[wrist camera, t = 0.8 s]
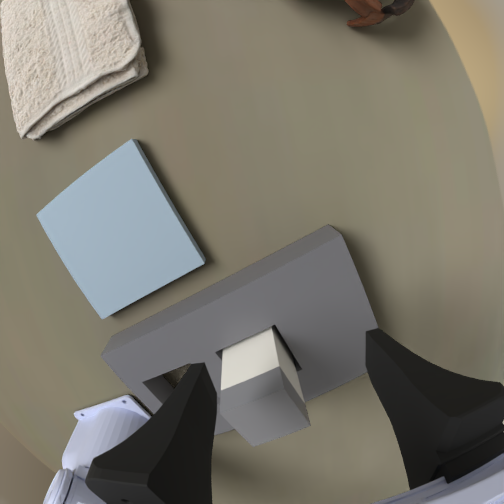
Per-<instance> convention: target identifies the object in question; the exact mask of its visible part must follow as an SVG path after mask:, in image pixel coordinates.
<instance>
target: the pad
mask: <svg viewBox="0 0 504 504" xmlns="http://www.w3.org/2000/svg"><path fill="white" fill-rule="evenodd" d="M37 217H38V219H39V221H40V223H41V224H42V226H43V228H44V230H45V232H46V233H47V235H48V237H49V239H50V241H51V242H52V244H53V246H54V247H55V249H56V251H57V253H58V254H59V256H60V258H61V259H62V261H63V262H64V264H65V266H66V267H67V269H68V270H69V272H70V274H71V275H72V277H73V278H74V280H75V281H76V283H77V284H78V286H79V287H80V289H81V290H82V292H83V293H84V295H85V296H86V298H87V299H88V300H89V302H90V303H91V305H92V306H93V308H94V309H95V310H96V312H97V313H98V315H99V316H100V317H101V319H104V318H106V317H107V316H109V315H111V314H113V313H115V312H116V311H118V310H120V309H122V308H124V307H125V306H127V305H129V304H131V303H133V302H135V301H136V300H138V299H140V298H142V297H144V296H146V295H147V294H149V293H151V292H153V291H155V290H157V289H158V288H160V287H162V286H164V285H166V284H168V283H169V282H171V281H173V280H175V279H177V278H179V277H181V276H182V275H184V274H186V273H188V272H190V271H192V270H193V269H195V268H197V267H199V266H201V265H203V264H205V260H206V258H205V257H204V255H203V253H202V252H201V250H200V248H199V247H198V245H197V243H196V242H195V240H194V238H193V237H192V235H191V233H190V232H189V230H188V228H187V227H186V225H185V223H184V222H183V220H182V218H181V217H180V215H179V213H178V212H177V210H176V208H175V207H174V205H173V203H172V201H171V200H170V198H169V196H168V195H167V193H166V191H165V189H164V188H163V186H162V184H161V182H160V181H159V179H158V177H157V175H156V174H155V172H154V170H153V168H152V167H151V165H150V163H149V161H148V159H147V158H146V156H145V154H144V152H143V151H142V149H141V147H140V145H139V143H138V141H137V140H136V139H131V140H129V141H128V142H127V143H125V144H124V145H122V146H121V147H119V148H118V149H117V150H115V151H114V152H112V153H111V154H110V155H108V156H107V157H106V158H104V159H103V160H101V161H100V162H99V163H97V164H96V165H95V166H94V167H92V168H91V169H90V170H88V171H87V172H86V173H85V174H83V175H82V176H81V177H80V178H78V179H77V180H76V181H75V182H73V183H72V184H71V185H70V186H69V187H67V188H66V189H65V190H64V191H63V192H61V193H60V194H59V195H58V196H57V197H56V198H54V199H53V200H52V201H51V202H50V203H49V204H48V205H47V206H45V207H44V208H43V209H42V210H41V211H40V212H39V213H38V214H37Z"/></svg>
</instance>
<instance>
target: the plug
mask: <svg viewBox="0 0 504 504" xmlns="http://www.w3.org/2000/svg"><path fill="white" fill-rule="evenodd" d="M220 414H221V415H222V416H223V417H224V418H225V419H226V420H227V421H228V422H229V423H230V425H231V426H232V427H233V428H234V429H235V430H236V431H237V432H238V433H239V434H240V435H241V436H242V437H243V438H244V439H245V440H247V441H248V442H249V443H250V444H251V445H252V446H253V447H254V446H257V445H260V444H263V443H266V442H269V441H272V440H274V439H277V438H280V437H283V436H285V435H288V434H291V433H293V432H296V431H298V430H301V429H303V428H306V427H308V426H311V425H310V421H309V417H308V413H307V410H306V406H305V402H304V398H303V394H302V391H301V387H300V383H299V379H298V376H297V372H296V368H295V364H294V361H293V357H292V353H291V350H290V348H289V347H288V345H287V343H286V342H285V340H284V339H283V337H282V335H281V334H280V332H279V330H278V329H277V327H276V325H273V326H271V327H269V328H266V329H264V330H262V331H260V332H258V333H256V334H254V335H252V336H250V337H247V338H245V339H243V340H241V341H239V342H237V343H234V344H232V345H230V346H228V347H226V348H223V356H222V375H221V396H220Z"/></svg>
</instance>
